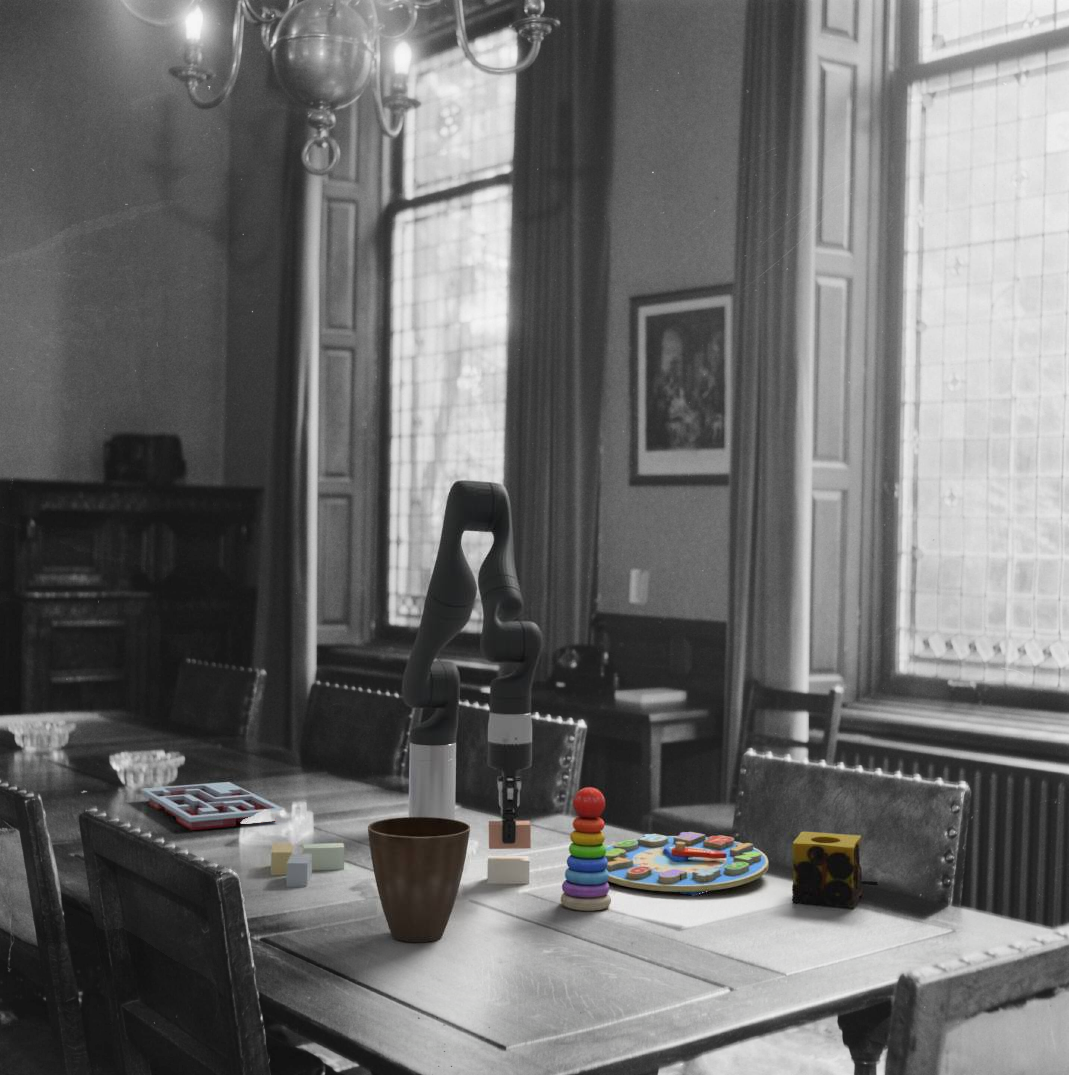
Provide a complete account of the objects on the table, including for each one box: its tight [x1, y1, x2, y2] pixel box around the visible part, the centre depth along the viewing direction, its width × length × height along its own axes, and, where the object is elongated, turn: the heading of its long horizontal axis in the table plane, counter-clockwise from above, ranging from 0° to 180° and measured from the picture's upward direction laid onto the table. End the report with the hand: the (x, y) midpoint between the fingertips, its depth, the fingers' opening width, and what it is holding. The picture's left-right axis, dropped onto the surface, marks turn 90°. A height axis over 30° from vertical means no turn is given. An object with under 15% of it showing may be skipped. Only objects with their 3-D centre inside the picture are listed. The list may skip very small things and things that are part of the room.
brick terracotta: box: [488, 820, 532, 850], centre depth 240 cm, size 3×7×4 cm, turn 93°
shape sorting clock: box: [604, 831, 769, 896], centre depth 246 cm, size 31×30×6 cm
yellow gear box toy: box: [791, 831, 863, 909], centre depth 231 cm, size 10×10×10 cm
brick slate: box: [285, 853, 313, 888], centre depth 238 cm, size 3×7×4 cm, turn 3°
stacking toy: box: [560, 786, 612, 912], centre depth 225 cm, size 8×8×19 cm
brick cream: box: [486, 855, 530, 885], centre depth 240 cm, size 3×7×4 cm, turn 93°
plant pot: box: [367, 816, 471, 943], centre depth 206 cm, size 15×15×16 cm
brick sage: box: [302, 842, 345, 871], centre depth 248 cm, size 3×7×4 cm, turn 101°
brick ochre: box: [270, 842, 293, 876], centre depth 245 cm, size 3×7×4 cm, turn 9°
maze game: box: [140, 781, 287, 831], centre depth 295 cm, size 35×20×3 cm, turn 31°
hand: (508, 840), depth 240 cm, fingers closed on brick terracotta, 3 cm apart
